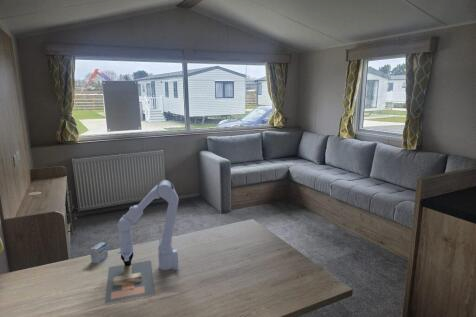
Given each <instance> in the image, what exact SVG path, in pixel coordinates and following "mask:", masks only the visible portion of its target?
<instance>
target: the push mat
mask: <svg viewBox="0 0 476 317" xmlns="http://www.w3.org/2000/svg"><path fill="white" fill-rule="evenodd" d="M131 265H132V274H134V273H140V272H141V277H142V281H141V282H135V283H129V284H124V285H118V286H113V277H116V276H122V275H124V266H125V265H124V264H120V265H114V266H109V267H108V271H107V272H108V274H107V281H106V289H105V290H106V291H105V298H104V304H108V306H109V305H111V303H113V305H115V304H116V302H118V301H119V302H118V304H120V303H121V301H122V300H125V301H123V303H125V302H126V300H128V299H130V300H128V302H129V301H131V299H133V301H134V300H135V301H136V298H138V299H141V298H140V297H143V299H144V298H146V296H148V298H150V297H151V295H153V297H155V295H154V294H156V290H155V281H154V275H153V274H154V273H153V266H152V260H145V261H139V262H133V263H132V262H131ZM114 302H115V303H114Z"/></svg>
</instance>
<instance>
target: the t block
mask: <svg viewBox="0 0 476 317" xmlns="http://www.w3.org/2000/svg"><path fill="white" fill-rule="evenodd" d="M141 281H142V277H141V272H140V273H134V274H132V265H130V266H124V275H122V276H116V277H113V286H118V285H124V284H129V283H135V282H141Z"/></svg>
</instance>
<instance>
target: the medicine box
mask: <svg viewBox="0 0 476 317" xmlns="http://www.w3.org/2000/svg"><path fill="white" fill-rule="evenodd" d="M89 253H90V262H91V263H92V264H100V263H102V262H103V261H104V260H105V259H106V258H108V257H109V254H108V253H109V252H108V243H107V242H104V241H103V242H98V243H96V244H95V245H94V246H92V247H91V248H89Z"/></svg>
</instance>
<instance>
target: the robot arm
mask: <svg viewBox="0 0 476 317" xmlns="http://www.w3.org/2000/svg"><path fill="white" fill-rule="evenodd" d="M160 198H161V199H163V200H165V201H166V202H167V204H168V206H167V210H166V216H165V219H164V225H163V231H162V234H161V236H160V238H159V240H158V241H159V242H158V243H159V244H158V247H157V249H158V250H157V254H158V268H159V269H160V270H162V271H166V270H167V271H168V270H171V269H173V271H177V270H179V253H178V250H177V249H176V248H173V247H172V245H173V244H172V243H173V238H172V237H173V233H174V232H173V231H174V226H175V222H176V216H177V211H178V207H179V206H178V205H179V201H180V200H179V196H178V192H177V191H176V189H175V186H174V184H173V183H172V182H170V180H167V179H162V180H161V181H160V182H159V183H158V184H156V185H155V186H153V188H152V189H151V190H150V191H149V192H148V193H147V195H146V196H145V197H143V199H142V200H141V201H140V202H139V203H138V204H135V205H133V206H130V207H128V208H129V209H128V211H127V212H126V213H125V214H122V217H120V218H119V221H118V222H117V230H118V232H119V233H118V238H119V249H120V250H117V254H118V255H119V254H120V260H122V262H123V265H125V266H130V265H131V264H132V260H133V257H134V244H133V232H132V225H133V224H135V222H137V221H138V220H139V218H141V216H142V215H143V214H144V209H146V207H147V206H148V205H150V203H152V201H154V200H155V199H156V200H157V199H158V200H159V199H160Z"/></svg>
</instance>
